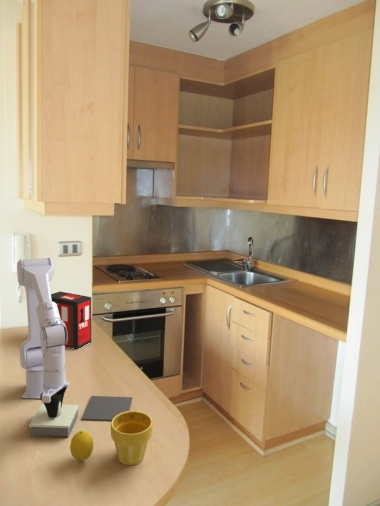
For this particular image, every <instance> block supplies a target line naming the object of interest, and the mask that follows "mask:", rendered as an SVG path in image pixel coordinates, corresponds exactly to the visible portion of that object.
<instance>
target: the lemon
mask: <svg viewBox="0 0 380 506" xmlns="http://www.w3.org/2000/svg"><path fill="white" fill-rule="evenodd" d="M69 445H70V447H69V448H70V449H69V450H70V453H71V456H72V457H73V459H74V460H76V461H81V462H83V461H85V460H88V458H89V457H90V456H91V455H92V453H93V451H94V440H93V436H92V434H91V433H90V432H89V431H86V430H80V431H77V432H76V433H74V435H73V436H72V438H71V440H70V444H69Z"/></svg>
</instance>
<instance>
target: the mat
mask: <svg viewBox="0 0 380 506" xmlns="http://www.w3.org/2000/svg"><path fill="white" fill-rule="evenodd" d="M132 402H133V397H132V396H111V395H110V396H109V395H108V396H107V395H91V396H90V399H89V401H88V403H87V406H86V408H85V409H84V413H83V414H82V417H81V421H101V422H102V421H105V422H112V420H113V418H114V417H115V416H117V415H118V414H120V413H123V412H126V411H131V410H130V409H131V404H132Z"/></svg>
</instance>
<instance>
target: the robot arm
mask: <svg viewBox="0 0 380 506" xmlns="http://www.w3.org/2000/svg"><path fill="white" fill-rule="evenodd" d="M54 272H55V267H54V261H53V259H52V258H51V257H47V258H45V257H44V258H31V259H30V258H29V259H18V261H17V263H16V273H17V274H16V275H17V282H18V285H19V286H22V287H24V290H25V295H26V296H25V297H26V310H27V311H26V312H27V325H28V326H27V328H28V337H27V338H26V339H24V340H23V342H21V344H20V346H19V362H20V366H21V368H22V369H23V370H25V382H26V386H25V387H26V388H25V391H24V393H23V394H22V395H21V398H22V399H40V401H41V403H42V404H44V405H45V407H46V410H47V413H48V416H49V418H56V417H57V414H58V407H59V402H61V407H62V404H63V402H64V397H65V394H66V390H67V388H68V387H69V386H70V381H69V380H68V381H67V380H66V377H67V376H66V353H65V351H66V350H65V349H66V347H65V345H64V344H67V341H68V335H67V329H66V326H65V324H64V323H63V320H61V318H60V315H59V311H58V307H57V304H56V303H55V302H53V301H52V299H51V294H52V293H51V286H50V281H52V279H53V276H54Z"/></svg>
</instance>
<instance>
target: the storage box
mask: <svg viewBox="0 0 380 506" xmlns="http://www.w3.org/2000/svg"><path fill="white" fill-rule="evenodd" d="M78 411H79V409H78V410H77V412H76V414H75V416H74V418H73V420H72V422H71V424H70V426H69V428H50V427H30V437H38V438H39V437H43V438H65V439H66V438H69V436H70V434H71V432H72V430H73V428H74V426H75V423H76V421H77V419H78V416H79V415H78V414H79V412H78Z"/></svg>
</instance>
